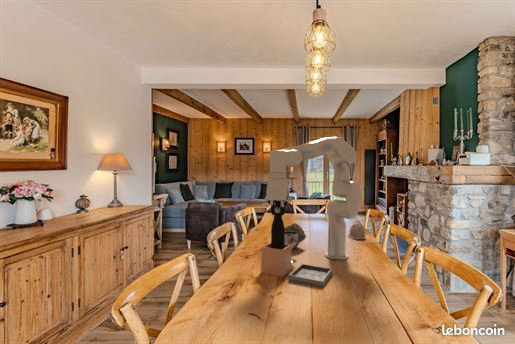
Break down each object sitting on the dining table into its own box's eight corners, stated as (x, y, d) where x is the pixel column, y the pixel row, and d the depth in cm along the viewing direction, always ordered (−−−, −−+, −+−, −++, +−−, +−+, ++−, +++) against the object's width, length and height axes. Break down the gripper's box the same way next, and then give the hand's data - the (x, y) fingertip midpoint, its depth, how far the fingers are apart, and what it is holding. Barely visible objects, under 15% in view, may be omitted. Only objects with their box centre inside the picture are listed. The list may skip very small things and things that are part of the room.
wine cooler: (270, 265, 152) (270, 241, 152) (291, 269, 147) (291, 244, 147) (260, 272, 142) (261, 247, 142) (282, 276, 137) (283, 250, 137)
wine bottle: (270, 257, 148) (270, 195, 147) (283, 256, 148) (283, 195, 147) (272, 261, 141) (272, 197, 141) (285, 261, 142) (285, 196, 141)
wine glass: (296, 263, 156) (297, 234, 156) (281, 262, 157) (281, 233, 157) (298, 259, 164) (298, 231, 163) (283, 258, 165) (283, 230, 165)
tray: (301, 268, 148) (301, 263, 148) (332, 274, 141) (332, 268, 141) (288, 280, 132) (288, 275, 132) (322, 287, 125) (322, 281, 125)
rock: (294, 218, 193) (291, 217, 178) (309, 236, 188) (307, 237, 174) (272, 236, 195) (267, 237, 180) (287, 255, 190) (282, 257, 176)
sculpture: (363, 235, 225) (364, 221, 225) (367, 240, 208) (367, 226, 208) (347, 234, 227) (347, 220, 227) (348, 239, 211) (349, 225, 211)
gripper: (258, 176, 144) (258, 214, 145) (291, 176, 137) (291, 217, 137) (265, 175, 151) (265, 212, 151) (297, 176, 143) (297, 215, 144)
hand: (277, 214), depth 144 cm, fingers closed on wine bottle, 3 cm apart
